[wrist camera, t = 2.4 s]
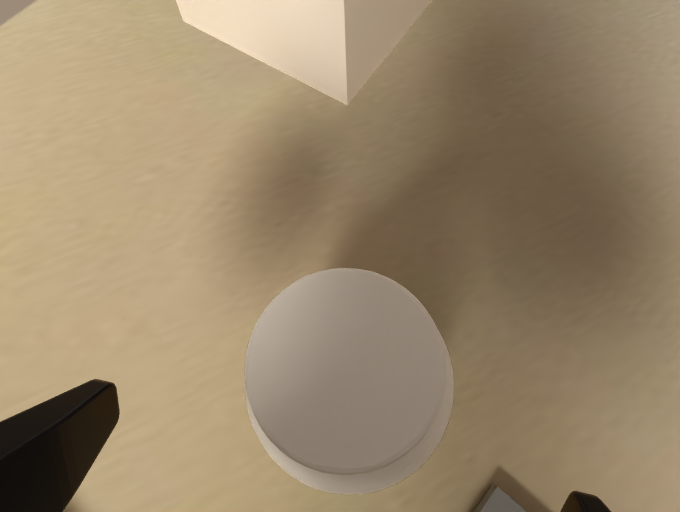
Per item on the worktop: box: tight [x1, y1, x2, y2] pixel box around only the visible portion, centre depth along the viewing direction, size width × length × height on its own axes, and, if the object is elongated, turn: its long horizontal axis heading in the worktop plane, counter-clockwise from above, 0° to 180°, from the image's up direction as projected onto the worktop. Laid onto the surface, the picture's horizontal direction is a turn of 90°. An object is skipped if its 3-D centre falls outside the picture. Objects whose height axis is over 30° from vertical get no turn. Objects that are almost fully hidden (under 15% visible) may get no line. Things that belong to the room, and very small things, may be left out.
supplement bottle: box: [245, 268, 454, 495], centre depth 13 cm, size 5×5×10 cm
